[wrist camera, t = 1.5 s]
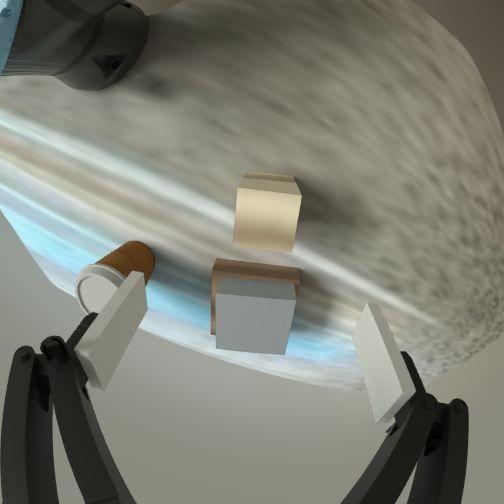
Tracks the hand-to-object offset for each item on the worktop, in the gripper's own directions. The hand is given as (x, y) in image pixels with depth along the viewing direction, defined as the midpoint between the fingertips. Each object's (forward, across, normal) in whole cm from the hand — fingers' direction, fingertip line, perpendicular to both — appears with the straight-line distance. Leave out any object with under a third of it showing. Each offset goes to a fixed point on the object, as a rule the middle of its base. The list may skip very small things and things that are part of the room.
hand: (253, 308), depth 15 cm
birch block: (+23, 0, +1) cm, 23 cm away
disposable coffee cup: (+23, -18, -12) cm, 32 cm away
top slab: (+19, +1, -15) cm, 24 cm away
